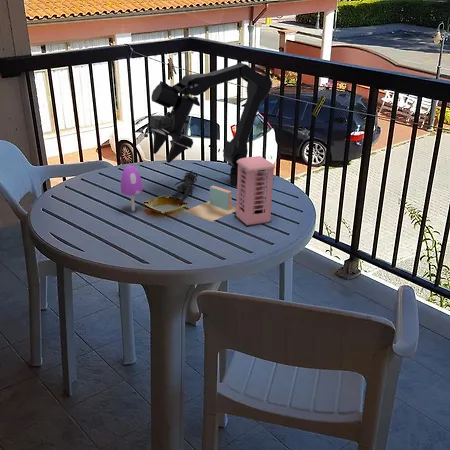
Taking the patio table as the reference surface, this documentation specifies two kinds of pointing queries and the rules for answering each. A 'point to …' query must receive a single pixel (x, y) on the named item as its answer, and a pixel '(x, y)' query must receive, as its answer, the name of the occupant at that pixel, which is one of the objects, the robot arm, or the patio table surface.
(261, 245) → the patio table surface
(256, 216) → the miniature model
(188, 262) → the patio table surface
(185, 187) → the figurine
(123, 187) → the toy
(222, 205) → the tile
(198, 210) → the mat
